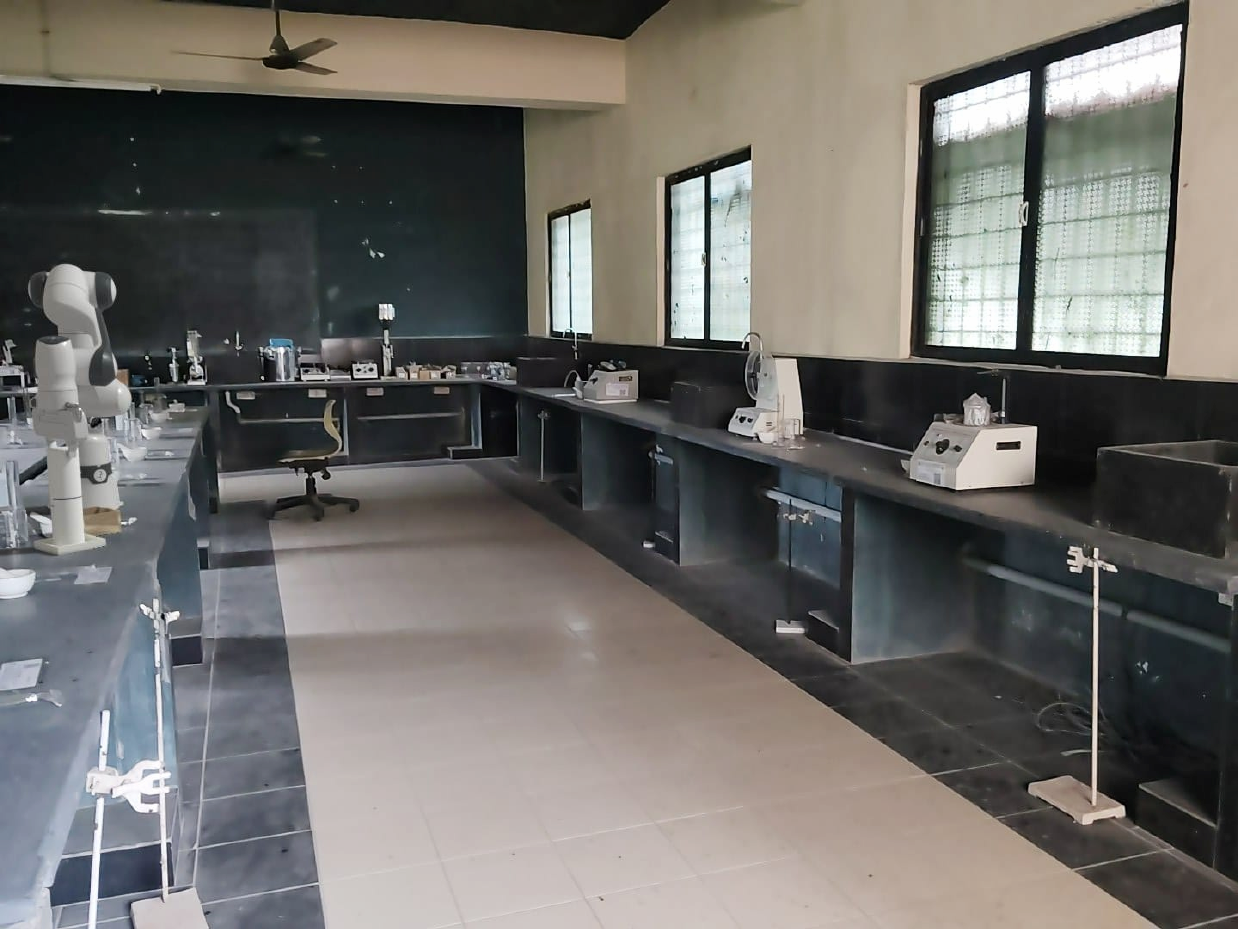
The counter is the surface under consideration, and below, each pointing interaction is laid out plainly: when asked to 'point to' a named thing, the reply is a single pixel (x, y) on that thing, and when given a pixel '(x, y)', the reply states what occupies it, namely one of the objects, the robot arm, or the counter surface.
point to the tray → (89, 544)
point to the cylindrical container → (65, 497)
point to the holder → (101, 520)
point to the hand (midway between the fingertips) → (63, 456)
